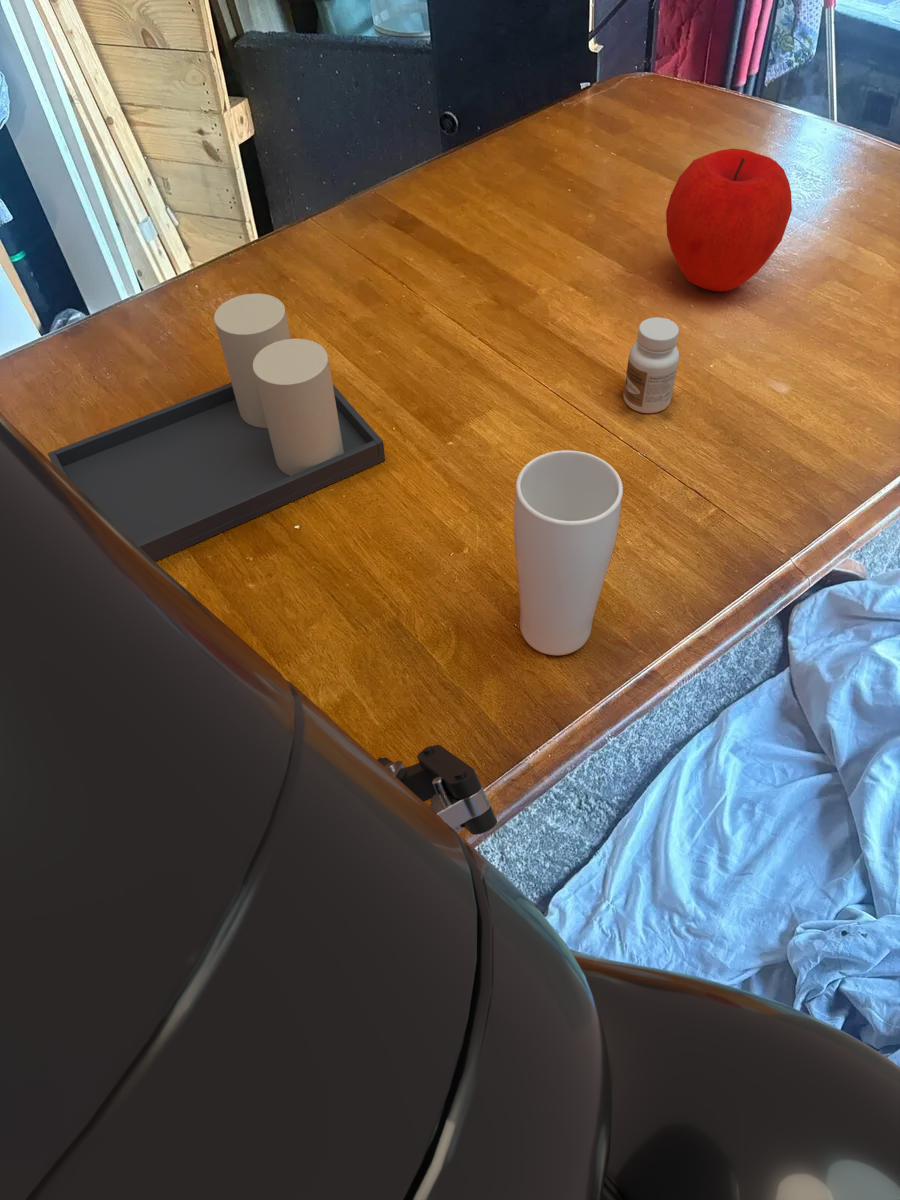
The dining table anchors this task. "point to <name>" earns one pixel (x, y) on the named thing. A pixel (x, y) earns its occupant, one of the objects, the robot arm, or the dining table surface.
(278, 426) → the ivory candle
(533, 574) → the drinking glass
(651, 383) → the pill bottle
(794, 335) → the dining table surface
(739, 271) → the apple
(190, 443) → the tray
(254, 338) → the ivory candle
